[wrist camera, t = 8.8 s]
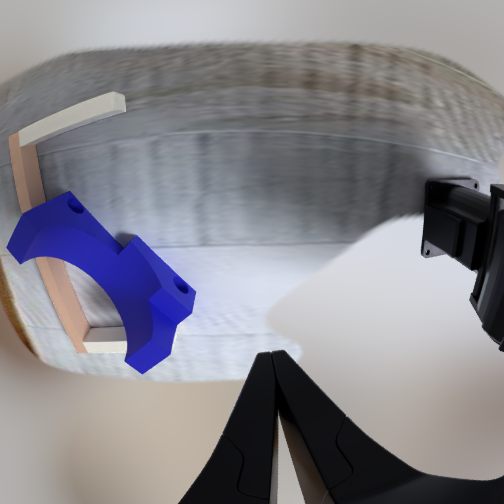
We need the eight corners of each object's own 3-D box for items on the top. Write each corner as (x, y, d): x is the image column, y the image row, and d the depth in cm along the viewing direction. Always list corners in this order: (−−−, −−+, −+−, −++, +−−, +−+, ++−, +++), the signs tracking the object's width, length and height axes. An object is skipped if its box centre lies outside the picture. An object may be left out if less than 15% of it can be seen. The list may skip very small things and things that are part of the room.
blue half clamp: (196, 290, 21) (186, 342, 15) (158, 321, 22) (142, 374, 16) (82, 175, 17) (33, 193, 11) (52, 218, 18) (6, 247, 12)
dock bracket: (124, 95, 15) (113, 91, 13) (177, 334, 22) (173, 350, 20) (23, 135, 15) (7, 136, 13) (85, 338, 22) (77, 352, 20)
